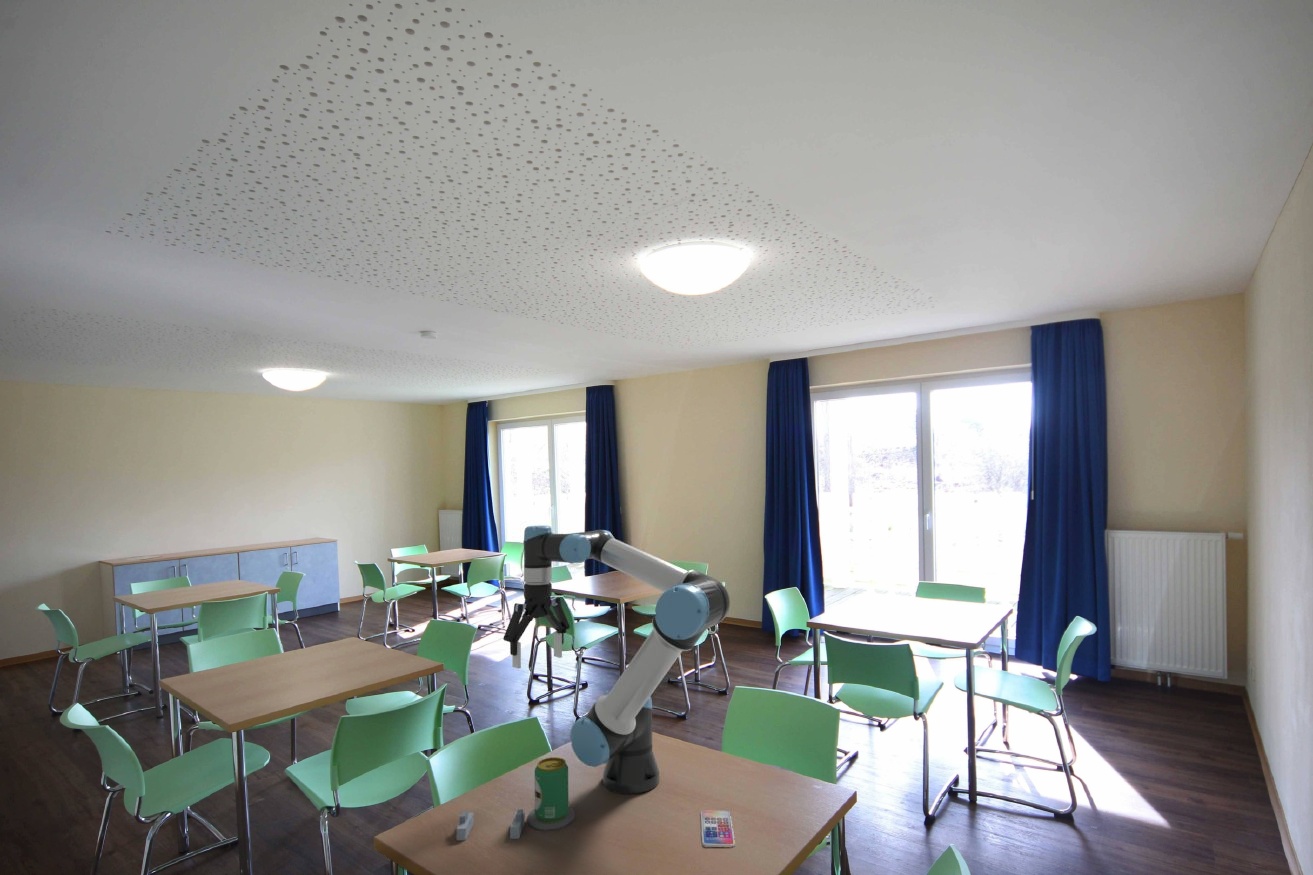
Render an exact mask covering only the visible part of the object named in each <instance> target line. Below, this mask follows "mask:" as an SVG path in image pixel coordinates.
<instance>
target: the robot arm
mask: <svg viewBox="0 0 1313 875" xmlns="http://www.w3.org/2000/svg"><path fill="white" fill-rule="evenodd" d="M523 534H524V535H523V562H524V563H523V581H524V582H525V583H524V584H523V598H524V602H523V603H517V602H515V603H514V605H513V612H512V615H511V618H510V621H509V623H508V625H507V628H506V630H505V633H504V635H503V638H502V639H503V641H505V642H509V646H510V648H509V650H510V651H509V655H510V656H512V661H511V662H512V668H515V669H517V670H518V669H521V668H522V667H521V666H522V664H521V663H522V662H521V661H522V656H521V655H522V648H521V647H522V646H521V645H522V644H521V643H522V642H520V640H521V637H522V636H523V634H524V632H526V630H527V628H528V626H529V624H530V623H531V622H532V621H533V620H534V619H539V618H544V617H545V619H547V621H548V622H549V623H550V625H551V626H552V627H553V628H554V630H555V632H553V657H555V658H559V659H561V658H563V645H564V642H565V641H564V640H565V639H564V636H565V634H566V633H567V630H570V628H571V627H570V623H569V621H568V619H567V617H566V614H565V611H564V610H563V608H562V602H561V601H562V600H561V598H560V597H556V596H552V594H553V593H552V590H553V589H552V583H551V582H552V581H553V570H552V569H553V567H552V566H553V565H552V563H553V562H555V563H556V562H557V563H566V564H567V563H568V564H581V563H584V562H585V561H586V560H589V559H593V560H595V561H598V562H600V563H602V564H604V565H606V566H608V567H611V568H612V569H615V570H617V571H619V572H621V573H623V574H625V575H628V576H629V577H631V578H632V579H633V578H634V579H635V580H637V581H640V582H641V583H644V584H646V585H648V586H651V587H652V588H655V589H657V590H659V591H660V592H662V593H661V595H660V597H659V598H658V600H657V602H656V604H655V609H654V613H655V615H654V616H653V618H652V619H651V620H652V621H651V624H652V630H651V632H650V633H649V634H648V636H647V637H646V639H645V640H644V641H643V643H642V644H641V646H640V648H638V651H637V652H636V653H635V655H634V656H633V658H632V659H631V661H629V663H628V664H627V667H625V669H624V671H623V672H622V674H621V675H620V676H619V678H618V679H617V681H616V682H615V684H614V685H613V687H612V688H611V690H610V691H609V692H608V694H606V695H605V694H603V695H600V697H598V698H597V699H596V701H595V702H594V704H593V705H592V707H591V708H590V709H589V711H588V712H587V713H586V714H585V715H584V716H582V717H580V718H578V719H577V720H576V721H575V722H574V723H573V724H572V726H571V728H570V733H569V740H570V743H571V745H570V746H571V748H572V751H573V752H574V755H575V756H576V757H577V759H578V760H580V762H581V763H583V764H584V765H585V766H588V767H593V768H594V767H599V766H601V765H604V764H605V765H604V769H603V773H602V783H603V785H604V787H605V788H606V789H607V790H609V791H612V792H615V793H618V794H625V795H629V794H630V795H631V794H641V793H645V792H649V791H651V790H652V789H654V788H655V787H657V786H658V785H659V783H660V769H659V766H658V763H657V761H656V757H655V754H654V751H653V750H654V749H653V708H654V707H653V701H652V697H651V696H652V694H653V693H654V692H655V690H656V688H657V687H658V686H659V684H660V683H661V682H662V680H664V677H665V676H666V675H667V673H668V672H669V670H670V669H671V668H672V666H673V665H674V663H675V662H676V661H677V659H678V657H680V655H681V654H682V652H688V651H691V650H692V649H693V648H694V646H696V644H697V642H698V641H699V640H700V638H701V637H702V636H703V634H704V633H705V632H706V630H708V629H710V628H712V627H714V626H717V625H718V624H720V623H721V622H722V621H723V620H724V619H725V618H726V617H727V615H728V612H729V610H730V602H731V600H730V595H729V593H728V590H727V589H726V587H725V586H724V584H723V583H721V582H720V581H719V580H717V579H715V578H714V577H712V576H709V575H707V574H705V573H703V572H700V571H698V570H696V569H691V570H687V569H684V568H683V567H682V568H681V567H679V566H677V565H675V564H673V563H670V562H669V561H666V560H663V559H661V558H659V557H657V556H655V555H652V554H650V553H648V552H645V551H643V550H641V549H638V548H637V547H635V546H633V545H630V544H627V543H625V542H623V541H622V540H619V539H616V538H615V537H614V536H613V534H612V533H611V531H609V530H605V529H595V530H590V531H580V532H572V533H553V529H552V526H550V525H529V526H526V527H525V529H524V533H523ZM551 606H552V609H553V611H554V612H553V611H552V609H551ZM554 614H555V615H554Z"/></svg>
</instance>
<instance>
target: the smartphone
mask: <svg viewBox="0 0 1313 875" xmlns="http://www.w3.org/2000/svg"><path fill="white" fill-rule="evenodd" d="M730 813H731V812H730V811H728V810H711V809H710V810H708V809H707V810H705V809H704V810H701V811H700V830H701V831H700V832H701V833H700V834H701V835H700V836H701V845H702V847H704V848H707V847H718V846H722V847H725V846H734V844H735V845H736V840H734V838H735V833H734V827H733V828H732V826H733V821H732V820H731V819H732V815H731V816H730Z"/></svg>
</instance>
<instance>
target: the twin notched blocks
mask: <svg viewBox="0 0 1313 875" xmlns="http://www.w3.org/2000/svg"><path fill="white" fill-rule="evenodd" d="M525 811H526V810H524V809H523V808H522V809H517V811H515V813H514V816H513V819H512V821H511V824H510V826H509V827H510V828H509V833H510V834H509V839H510V840H514V839H515V840H517V839H520V837H521V835H522V831H523V828H524V824H525V822H526V819H525V818H526V816H525V815H526V813H525ZM474 818H475V817H474V812H469V811H468V810H463V811H461V813H460V815H459V823H458V825H457V826H456V827H457V828H456V841H466V840H467V838H468V835H469V834H470V832H471V829H472V828H473V826H474V824H475V823H474V820H475V819H474Z"/></svg>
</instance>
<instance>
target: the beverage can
mask: <svg viewBox="0 0 1313 875" xmlns="http://www.w3.org/2000/svg"><path fill="white" fill-rule="evenodd" d="M568 807H569V766H568V764H567V763H566V759H564V758H563V757H559V756H558V757H555V756H554V757H552V756H551V757H546V758H543V759H541V760H539V761H537V764H536V767H535V768H534V809H535V815H536V817H537V819H538V820H539V821H540V822H543V823H554V822H558V821H560V820H562V819H564V818H565V817H566V814H567V812H568Z"/></svg>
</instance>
